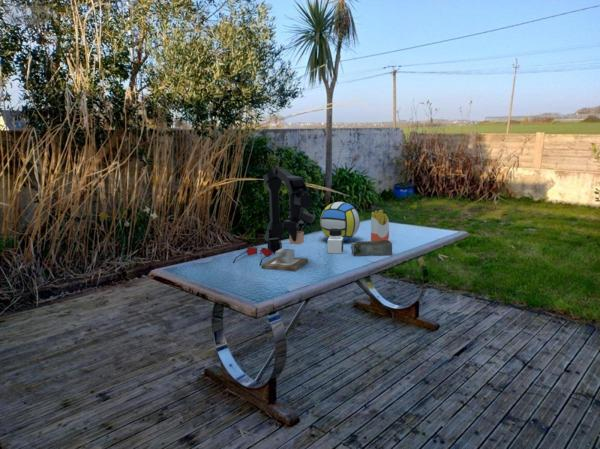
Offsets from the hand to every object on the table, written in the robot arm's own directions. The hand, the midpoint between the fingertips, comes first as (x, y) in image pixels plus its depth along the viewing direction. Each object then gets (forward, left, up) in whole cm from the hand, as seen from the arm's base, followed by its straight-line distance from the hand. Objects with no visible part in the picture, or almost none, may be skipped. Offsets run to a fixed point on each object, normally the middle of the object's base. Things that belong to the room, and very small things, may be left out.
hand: (296, 240), depth 191 cm
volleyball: (+6, +53, -11) cm, 55 cm away
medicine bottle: (+11, +26, -11) cm, 30 cm away
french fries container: (+29, +51, -11) cm, 60 cm away
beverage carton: (+29, +27, -11) cm, 41 cm away
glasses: (-22, 0, -12) cm, 25 cm away
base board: (-4, -4, -11) cm, 12 cm away
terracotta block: (0, 0, -1) cm, 1 cm away
